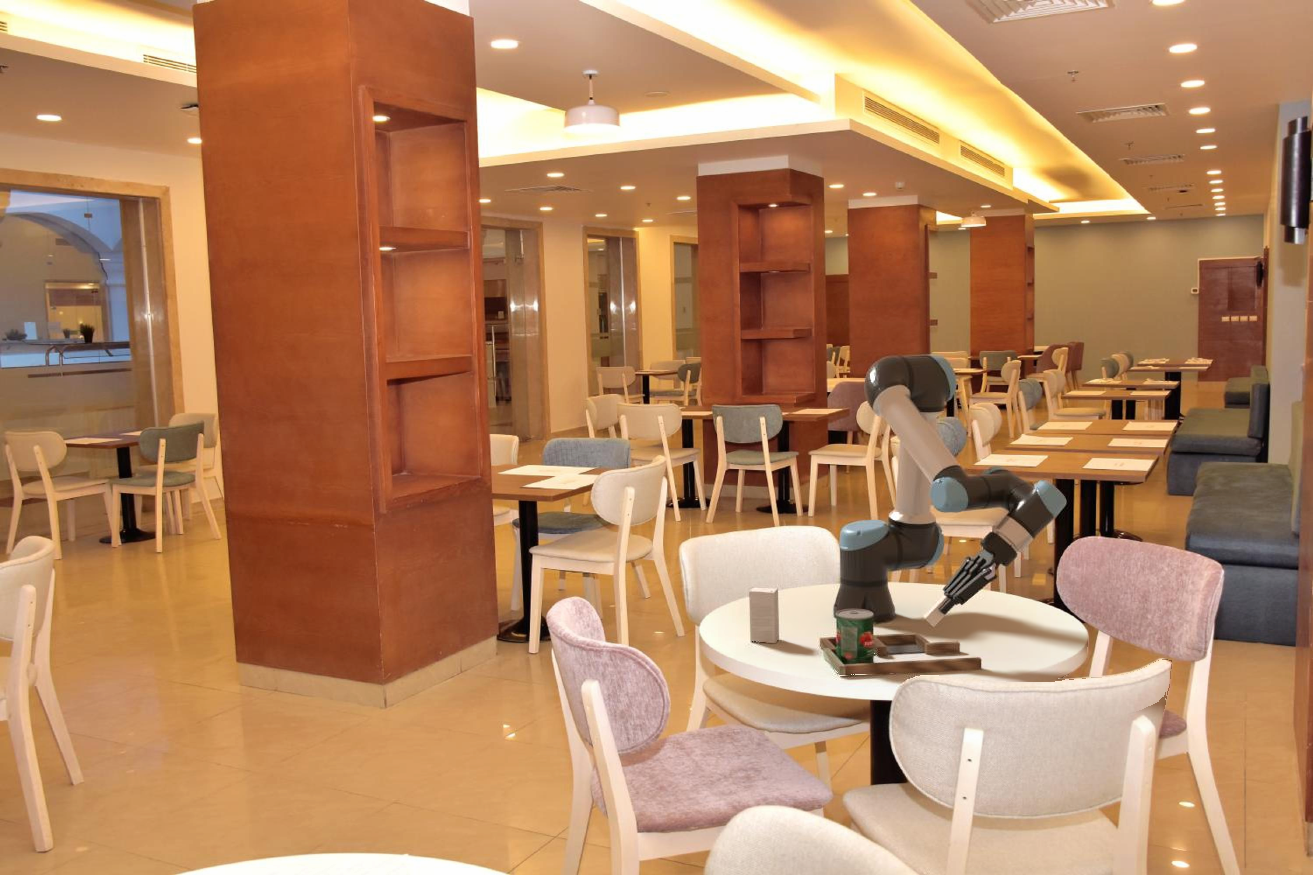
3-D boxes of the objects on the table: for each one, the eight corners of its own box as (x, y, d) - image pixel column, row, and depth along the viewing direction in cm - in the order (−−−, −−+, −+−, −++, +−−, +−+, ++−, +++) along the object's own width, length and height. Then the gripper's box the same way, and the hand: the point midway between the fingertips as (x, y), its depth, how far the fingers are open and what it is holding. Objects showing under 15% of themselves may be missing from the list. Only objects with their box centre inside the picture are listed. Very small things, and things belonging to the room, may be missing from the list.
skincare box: (779, 638, 259) (778, 588, 258) (775, 643, 255) (774, 592, 254) (754, 637, 261) (753, 586, 260) (749, 642, 257) (748, 591, 256)
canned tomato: (876, 669, 235) (876, 617, 234) (838, 669, 235) (838, 618, 234) (870, 658, 242) (870, 608, 241) (834, 658, 243) (834, 608, 242)
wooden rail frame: (944, 640, 254) (944, 631, 254) (981, 669, 233) (981, 658, 233) (814, 647, 251) (814, 637, 251) (839, 676, 230) (839, 666, 230)
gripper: (1030, 560, 232) (951, 642, 232) (1004, 547, 245) (929, 624, 245) (1005, 536, 231) (926, 618, 231) (981, 524, 244) (906, 602, 244)
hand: (928, 621), depth 238 cm, fingers closed
